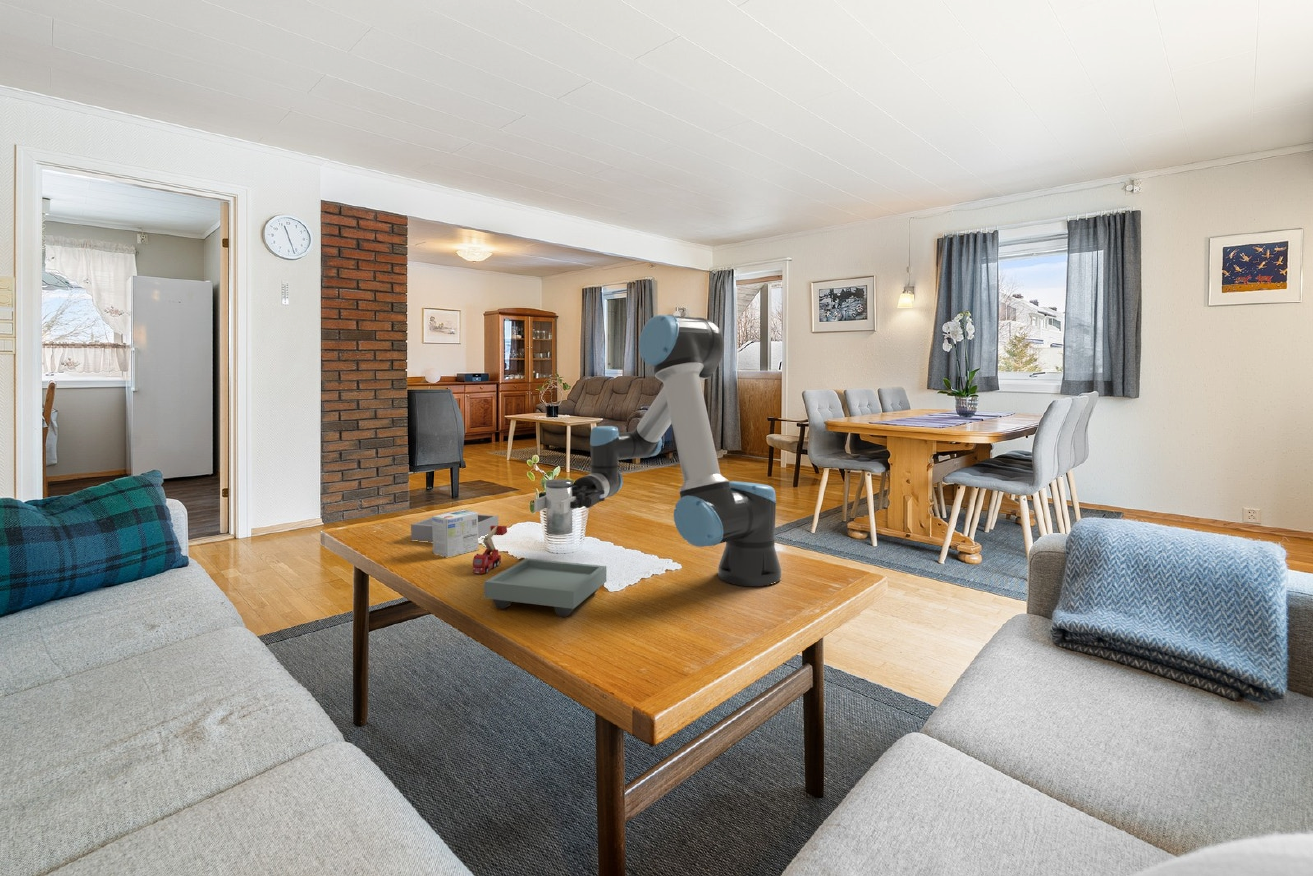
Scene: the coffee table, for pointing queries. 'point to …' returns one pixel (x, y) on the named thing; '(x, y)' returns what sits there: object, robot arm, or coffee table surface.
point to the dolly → (545, 584)
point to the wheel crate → (424, 528)
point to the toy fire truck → (488, 552)
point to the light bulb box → (455, 533)
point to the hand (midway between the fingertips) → (549, 506)
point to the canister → (558, 506)
